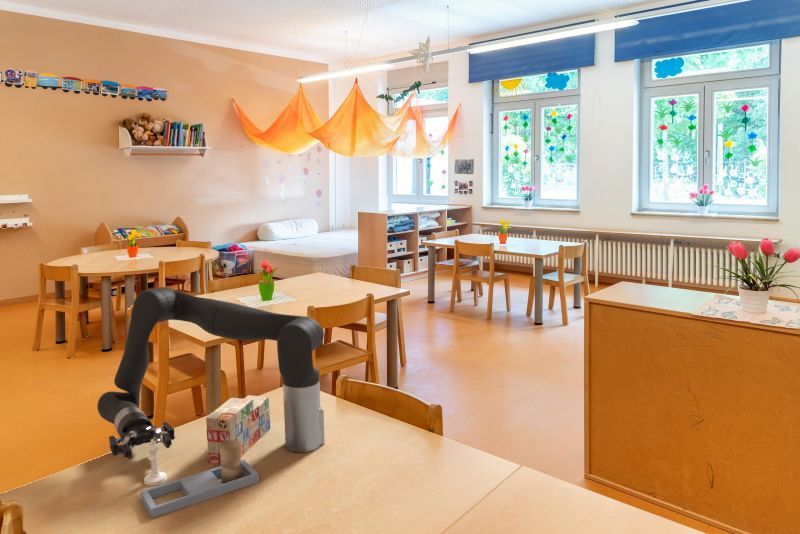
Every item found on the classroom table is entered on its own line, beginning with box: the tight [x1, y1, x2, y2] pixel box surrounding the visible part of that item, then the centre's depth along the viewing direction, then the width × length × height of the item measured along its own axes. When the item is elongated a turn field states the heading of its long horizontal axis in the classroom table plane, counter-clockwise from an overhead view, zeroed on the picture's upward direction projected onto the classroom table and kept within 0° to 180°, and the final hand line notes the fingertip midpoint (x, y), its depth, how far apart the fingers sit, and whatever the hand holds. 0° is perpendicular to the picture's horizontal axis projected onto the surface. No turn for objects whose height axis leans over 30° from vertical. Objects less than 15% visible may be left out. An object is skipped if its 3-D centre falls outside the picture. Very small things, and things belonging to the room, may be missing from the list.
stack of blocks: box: [205, 394, 271, 466], centre depth 155 cm, size 21×6×12 cm, turn 166°
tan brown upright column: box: [220, 440, 243, 484], centre depth 138 cm, size 4×4×9 cm
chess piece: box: [143, 438, 168, 486], centre depth 138 cm, size 5×5×10 cm
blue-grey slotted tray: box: [140, 459, 260, 519], centre depth 134 cm, size 24×8×2 cm, turn 126°
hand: (149, 449), depth 141 cm, fingers open, 8 cm apart
